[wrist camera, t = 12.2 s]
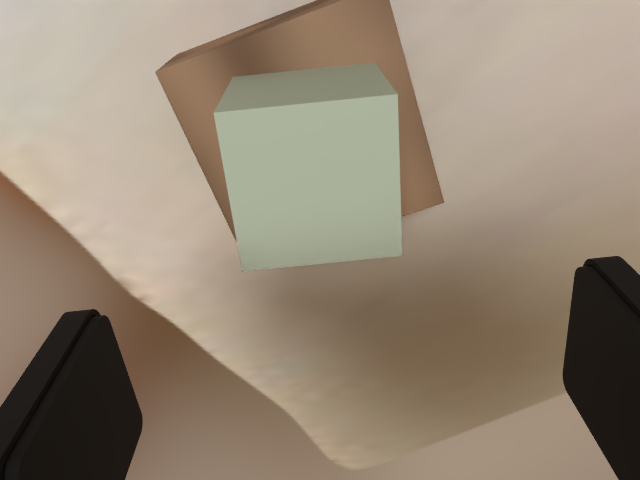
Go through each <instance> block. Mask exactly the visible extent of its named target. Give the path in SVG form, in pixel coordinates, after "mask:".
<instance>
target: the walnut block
mask: <svg viewBox="0 0 640 480" xmlns="http://www.w3.org/2000/svg"><path fill="white" fill-rule="evenodd" d="M365 63H376V65H377V66H378V67H379V69H380V70H381V72H382V73H383V74H384V76H385V77H386V78H387V80H388V81H389V83H390V84H391V85H392V87H393V88H394V90H395V91H396V92H397V94H398V119H399V155H400V190H401V217H402V216H405V215H408V214H411V213H414V212H417V211H420V210H423V209H426V208H429V207H432V206H435V205H438V204H441V203H444V200H443V197H442V193H441V189H440V186H439V182H438V178H437V175H436V171H435V167H434V164H433V160H432V156H431V152H430V149H429V145H428V141H427V138H426V134H425V130H424V127H423V123H422V119H421V116H420V112H419V108H418V105H417V101H416V97H415V94H414V90H413V86H412V83H411V79H410V75H409V72H408V68H407V64H406V60H405V57H404V53H403V49H402V46H401V42H400V38H399V35H398V31H397V27H396V24H395V20H394V16H393V13H392V9H391V5H390V2H389V0H316V1H314V2H311V3H309V4H306V5H303V6H301V7H298V8H296V9H293V10H291V11H288V12H285V13H283V14H280V15H278V16H275V17H272V18H270V19H267V20H265V21H262V22H259V23H257V24H254V25H252V26H249V27H247V28H244V29H241V30H239V31H236V32H234V33H231V34H228V35H226V36H223V37H221V38H218V39H216V40H213V41H210V42H208V43H205V44H203V45H200V46H197V47H195V48H192V49H190V50H187V51H184V52H182V53H179V54H177V55H176V56H174V57H173V58H172V59H171V60H169V61H168V62H167V63H166V64H165V65H163V66H162V67H161V68H160V69H158V70H157V71H156V72H155V73H156V75H157V77H158V79H159V81H160V83H161V85H162V87H163V89H164V91H165V93H166V96H167V98H168V100H169V102H170V104H171V106H172V108H173V110H174V112H175V114H176V116H177V119H178V121H179V123H180V125H181V127H182V129H183V131H184V133H185V135H186V137H187V139H188V142H189V144H190V146H191V148H192V150H193V152H194V154H195V156H196V158H197V160H198V162H199V165H200V167H201V169H202V171H203V173H204V175H205V177H206V179H207V181H208V183H209V185H210V188H211V190H212V192H213V194H214V196H215V198H216V200H217V202H218V204H219V206H220V208H221V211H222V213H223V215H224V217H225V219H226V221H227V223H228V225H229V227H230V229H231V231H232V234H233V236H234V238H235V240H236V234H235V229H234V223H233V218H232V212H231V207H230V201H229V196H228V190H227V185H226V179H225V173H224V168H223V162H222V157H221V151H220V146H219V140H218V135H217V129H216V124H215V118H214V111H215V109H216V107H217V105H218V103H219V102H220V100H221V98H222V96H223V94H224V92H225V90H226V89H227V87H228V85H229V83H230V81H231V79H232V77H237V76H247V75H257V74H266V73H276V72H286V71H296V70H306V69H316V68H325V67H335V66H345V65H355V64H365ZM236 242H237V240H236Z"/></svg>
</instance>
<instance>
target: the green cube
mask: <svg viewBox="0 0 640 480" xmlns="http://www.w3.org/2000/svg"><path fill="white" fill-rule="evenodd" d="M214 118H215V124H216V129H217V135H218V140H219V146H220V151H221V157H222V162H223V168H224V173H225V179H226V185H227V190H228V196H229V201H230V207H231V212H232V218H233V223H234V229H235V234H236V240H237V245H238V251H239V256H240V262H241V267H242V272H244V271H254V270H264V269H274V268H285V267H295V266H305V265H315V264H325V263H336V262H346V261H356V260H366V259H376V258H387V257H397V256H402V226H401V190H400V155H399V119H398V94H397V92H396V91H395V90H394V88H393V87H392V85H391V84H390V83H389V81H388V80H387V78H386V77H385V76H384V74H383V73H382V72H381V70H380V69H379V67H378V66H377V65H376V63H365V64H355V65H345V66H335V67H325V68H316V69H306V70H296V71H286V72H276V73H266V74H257V75H247V76H237V77H232V79H231V81H230V83H229V85H228V87H227V89H226V90H225V92H224V94H223V96H222V98H221V100H220V102H219V103H218V105H217V107H216V109H215V111H214Z"/></svg>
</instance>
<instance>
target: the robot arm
mask: <svg viewBox="0 0 640 480" xmlns="http://www.w3.org/2000/svg"><path fill="white" fill-rule="evenodd" d="M563 381H564V386H565V389H566V391H567V393H568V395H569V396H570V398H571V399H572V401H573V403H574V405H575V406H576V408H577V410H578V411H579V413H580V415H581V417H582V418H583V420H584V421H585V423H586V425H587V427H588V428H589V430H590V432H591V433H592V435H593V436H594V439H595V440H596V442H597V444H598V445H599V447H600V448H601V450H602V452H603V454H604V455H605V457H606V459H607V460H608V462H609V464H610V466H611V467H612V469H613V471H614V472H615V474H616V476H617V477H618V479H619V480H640V275H639V274H638V273H637V272H636V271H635V270H634V269H633V268H632V267H631V266H630V265H629V264H628V263H627V262H626V261H625V260H624V259H622V258H621V257H619V256H612V257H603V258H593V259H588V260H586V261H585V263H584V265H583V267H579V268H577V269H576V271H575V276H574V284H573V292H572V301H571V309H570V317H569V325H568V334H567V342H566V350H565V358H564V366H563ZM141 431H142V414H141V410H140V408H139V404H138V402H137V399H136V396H135V393H134V390H133V387H132V384H131V381H130V379H129V376H128V372H127V370H126V367H125V364H124V361H123V358H122V355H121V352H120V349H119V346H118V343H117V340H116V337H115V335H114V332H113V329H112V326H111V323H110V321H109V318H108V317H107V316H105V315H103V316H101V315H100V313H99V312H98V311H97V310H95V309H91V310H82V311H73V312H66V313H64V314H63V315H62V317H61V318H60V320H59V321H58V322H57V324H56V326H55V327H54V328H53V330H52V332H51V333H50V335H49V336H48V338H47V339H46V340H45V342H44V343H43V345H42V346H41V348H40V349H39V351H38V352H37V354H36V355H35V357H34V358H33V360H32V361H31V363H30V364H29V365H28V367H27V368H26V370H25V372H24V373H23V375H22V376H21V377H20V379H19V381H18V382H17V383H16V385H15V386H14V388H13V389H12V391H11V392H10V394H9V395H8V397H7V398H6V400H5V401H4V403H3V404H2V406H1V407H0V480H125V478H126V475H127V472H128V469H129V466H130V463H131V460H132V457H133V454H134V451H135V449H136V446H137V443H138V440H139V437H140V434H141Z"/></svg>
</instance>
